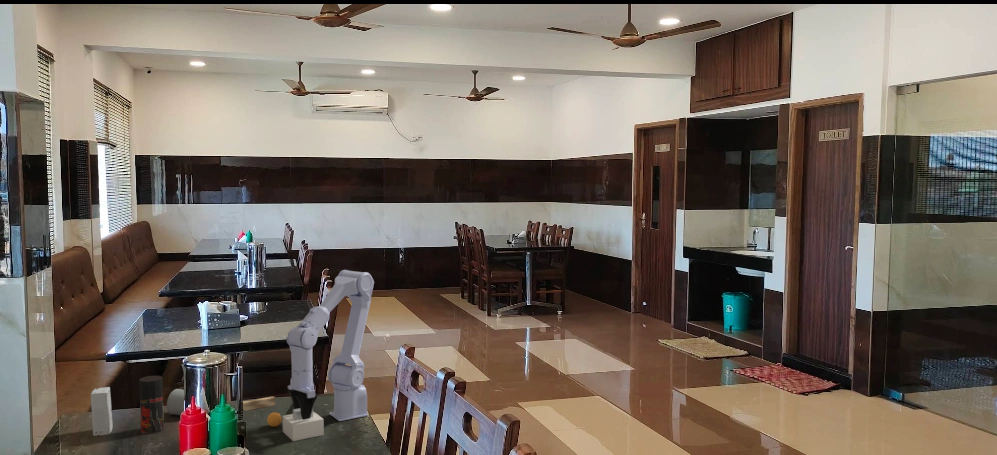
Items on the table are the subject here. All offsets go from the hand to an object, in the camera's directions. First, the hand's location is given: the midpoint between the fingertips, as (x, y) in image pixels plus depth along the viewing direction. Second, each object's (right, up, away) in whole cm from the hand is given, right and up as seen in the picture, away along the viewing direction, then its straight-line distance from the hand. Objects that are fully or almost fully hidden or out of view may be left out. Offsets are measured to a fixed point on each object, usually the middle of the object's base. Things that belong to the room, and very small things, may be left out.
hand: (302, 416), depth 209 cm
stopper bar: (-21, -3, +21) cm, 30 cm away
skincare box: (-57, -5, 0) cm, 57 cm away
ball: (-10, -2, +6) cm, 12 cm away
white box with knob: (0, -5, 0) cm, 5 cm away
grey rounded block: (-39, -4, +16) cm, 43 cm away
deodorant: (-44, -5, +2) cm, 44 cm away
